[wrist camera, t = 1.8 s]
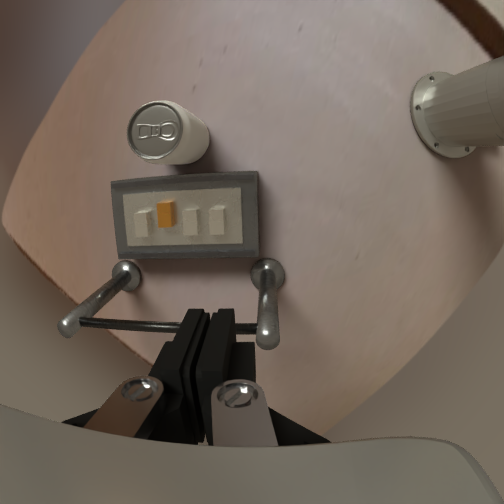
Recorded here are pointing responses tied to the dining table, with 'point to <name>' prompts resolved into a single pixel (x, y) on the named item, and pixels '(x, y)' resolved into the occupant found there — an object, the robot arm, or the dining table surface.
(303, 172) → the dining table surface
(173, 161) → the can
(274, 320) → the cord stand
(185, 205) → the breaker panel
